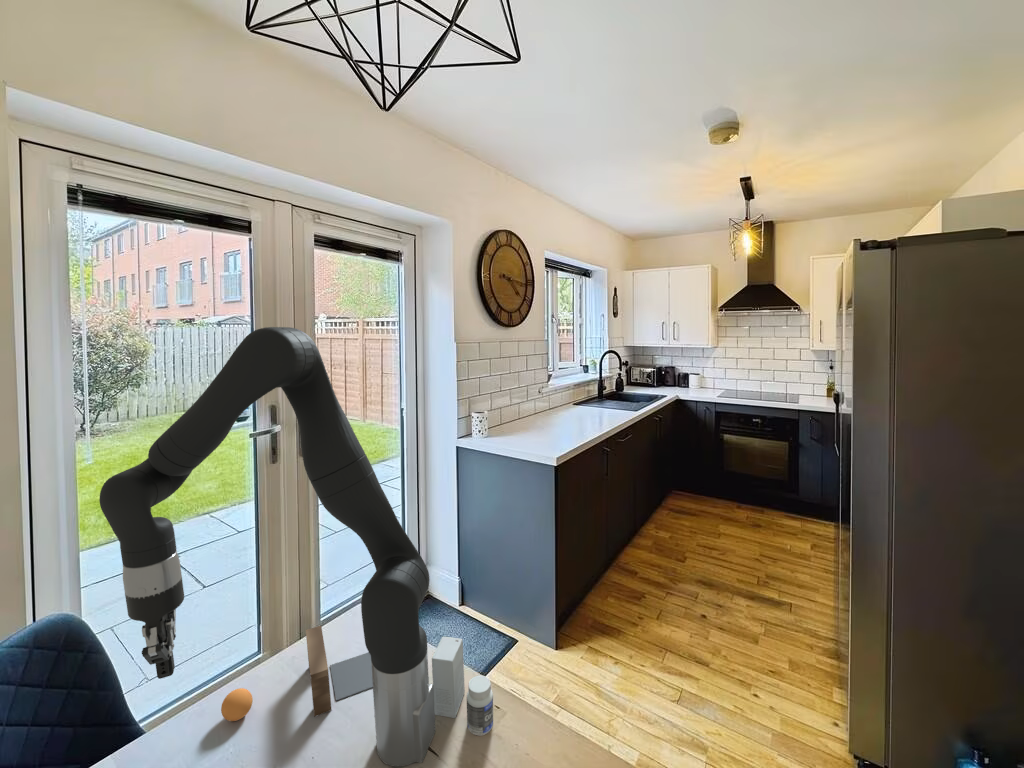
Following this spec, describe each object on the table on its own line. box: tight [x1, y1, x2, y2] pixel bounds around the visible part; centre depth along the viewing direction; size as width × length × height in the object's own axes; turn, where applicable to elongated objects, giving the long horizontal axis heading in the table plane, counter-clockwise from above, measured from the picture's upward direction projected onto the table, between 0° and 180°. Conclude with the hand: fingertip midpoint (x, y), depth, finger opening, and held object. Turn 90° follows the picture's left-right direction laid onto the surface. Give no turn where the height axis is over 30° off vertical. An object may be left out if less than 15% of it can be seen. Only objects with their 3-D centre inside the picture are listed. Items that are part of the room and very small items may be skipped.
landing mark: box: [330, 651, 373, 702], centre depth 95 cm, size 10×10×1 cm
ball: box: [220, 687, 254, 722], centre depth 85 cm, size 5×5×5 cm
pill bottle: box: [466, 675, 494, 736], centre depth 82 cm, size 5×5×8 cm
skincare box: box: [431, 636, 466, 719], centre depth 87 cm, size 6×4×12 cm
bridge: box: [305, 625, 332, 718], centre depth 91 cm, size 3×14×9 cm, turn 27°
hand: (166, 674), depth 79 cm, fingers closed
